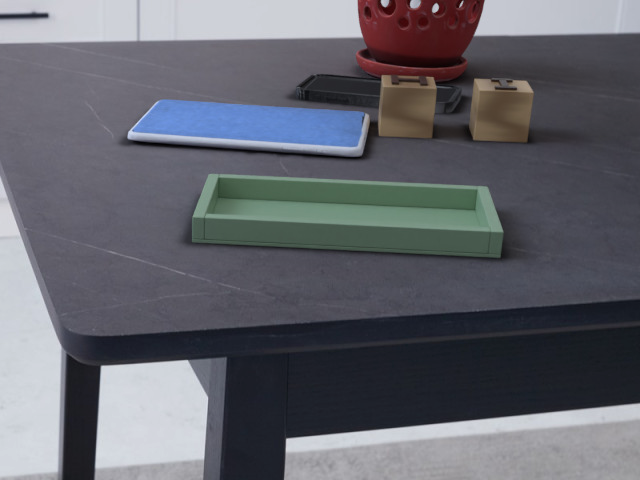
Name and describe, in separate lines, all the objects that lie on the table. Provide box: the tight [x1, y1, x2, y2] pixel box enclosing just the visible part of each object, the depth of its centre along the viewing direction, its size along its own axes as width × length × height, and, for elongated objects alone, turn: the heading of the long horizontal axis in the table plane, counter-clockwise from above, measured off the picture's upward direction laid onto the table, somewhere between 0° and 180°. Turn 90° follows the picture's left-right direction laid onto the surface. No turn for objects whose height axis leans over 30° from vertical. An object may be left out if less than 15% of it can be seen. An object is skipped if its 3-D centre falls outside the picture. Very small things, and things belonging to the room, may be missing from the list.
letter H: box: [377, 75, 437, 139], centre depth 99 cm, size 4×4×5 cm
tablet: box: [127, 98, 371, 158], centre depth 98 cm, size 19×13×1 cm, turn 81°
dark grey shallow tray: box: [295, 73, 463, 114], centre depth 111 cm, size 8×1×15 cm
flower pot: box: [355, 0, 486, 84], centre depth 119 cm, size 13×13×12 cm
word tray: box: [191, 173, 505, 259], centre depth 77 cm, size 20×10×2 cm, turn 85°
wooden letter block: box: [468, 77, 535, 143], centre depth 99 cm, size 4×4×5 cm
